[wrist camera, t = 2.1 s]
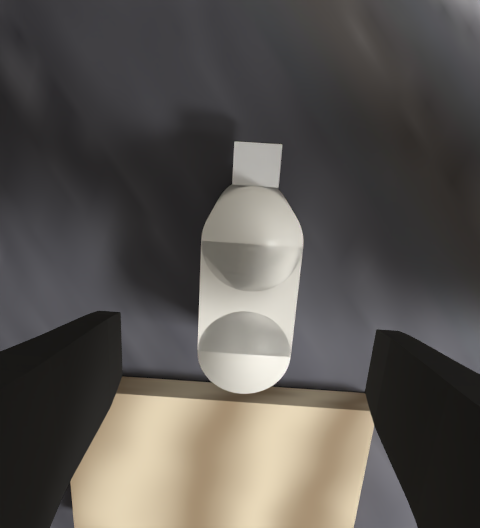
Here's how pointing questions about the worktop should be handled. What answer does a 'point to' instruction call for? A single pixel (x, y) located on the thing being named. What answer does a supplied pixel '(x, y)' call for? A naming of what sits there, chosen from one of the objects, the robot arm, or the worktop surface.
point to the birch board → (224, 458)
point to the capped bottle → (249, 276)
